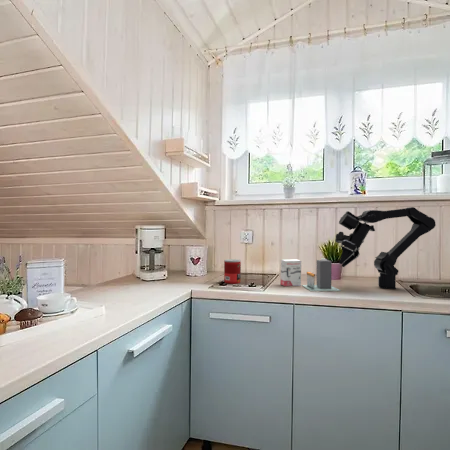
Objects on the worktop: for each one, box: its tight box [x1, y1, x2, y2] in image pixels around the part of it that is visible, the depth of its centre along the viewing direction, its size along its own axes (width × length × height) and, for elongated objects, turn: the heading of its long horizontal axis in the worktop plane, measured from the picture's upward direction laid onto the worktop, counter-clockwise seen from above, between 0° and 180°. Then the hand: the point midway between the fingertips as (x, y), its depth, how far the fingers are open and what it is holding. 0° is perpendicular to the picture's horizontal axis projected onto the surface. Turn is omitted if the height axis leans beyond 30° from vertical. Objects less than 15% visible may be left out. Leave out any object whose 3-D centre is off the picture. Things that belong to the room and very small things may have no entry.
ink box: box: [280, 258, 302, 287], centre depth 164 cm, size 9×5×12 cm, turn 105°
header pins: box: [306, 271, 316, 289], centre depth 156 cm, size 2×8×6 cm, turn 4°
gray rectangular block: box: [316, 257, 333, 289], centre depth 156 cm, size 5×5×13 cm
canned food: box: [223, 258, 242, 285], centre depth 171 cm, size 8×8×11 cm
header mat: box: [301, 284, 341, 292], centre depth 156 cm, size 13×13×1 cm
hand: (341, 265), depth 158 cm, fingers open, 9 cm apart
